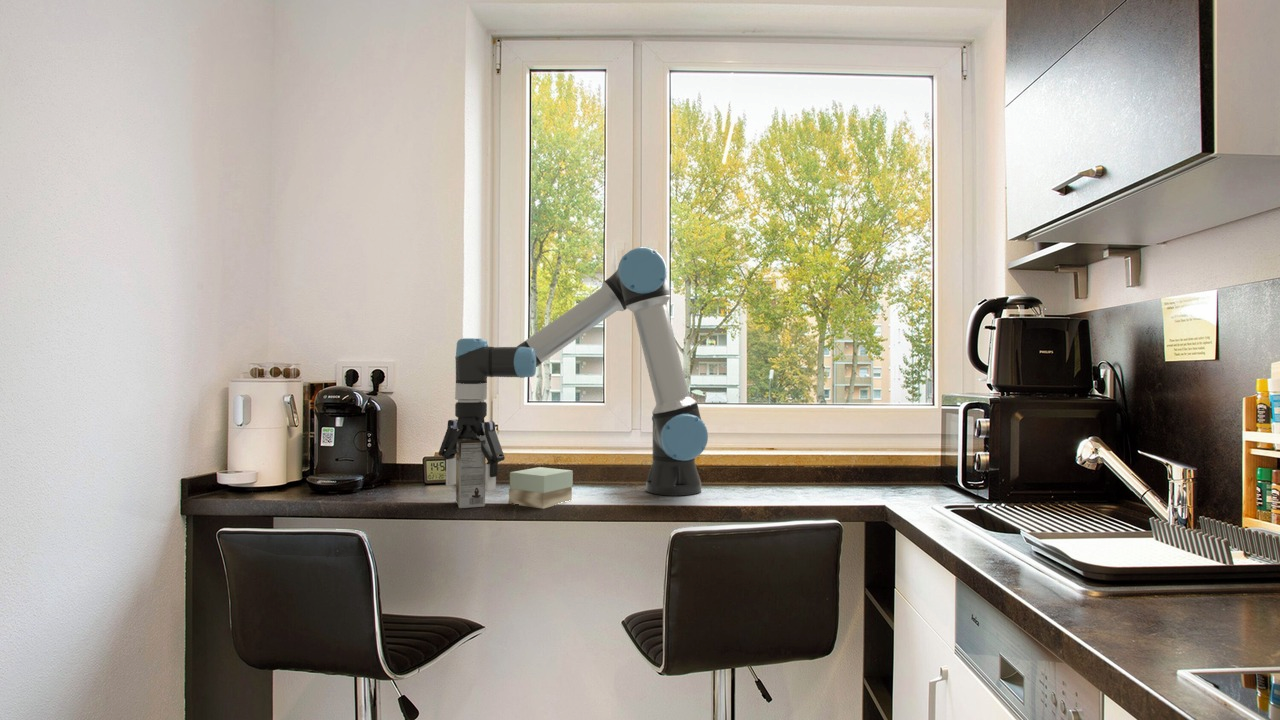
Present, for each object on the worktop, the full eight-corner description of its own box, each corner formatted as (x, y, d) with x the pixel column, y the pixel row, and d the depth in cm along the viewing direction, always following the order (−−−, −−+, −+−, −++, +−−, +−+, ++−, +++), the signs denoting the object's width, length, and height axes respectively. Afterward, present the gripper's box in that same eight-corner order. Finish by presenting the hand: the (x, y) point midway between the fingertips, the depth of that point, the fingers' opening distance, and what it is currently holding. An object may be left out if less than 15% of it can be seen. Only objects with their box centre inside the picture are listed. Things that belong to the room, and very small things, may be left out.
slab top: (572, 486, 160) (572, 470, 160) (544, 493, 150) (544, 476, 150) (539, 482, 165) (539, 467, 165) (509, 488, 156) (509, 472, 156)
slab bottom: (571, 502, 160) (571, 486, 160) (543, 510, 150) (543, 493, 150) (538, 497, 165) (538, 482, 165) (508, 504, 156) (508, 488, 156)
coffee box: (454, 501, 158) (455, 437, 159) (481, 499, 161) (481, 436, 161) (458, 508, 150) (459, 440, 150) (486, 506, 152) (486, 439, 152)
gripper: (519, 401, 152) (519, 490, 152) (447, 399, 165) (447, 480, 165) (497, 403, 146) (496, 495, 146) (424, 400, 159) (423, 485, 159)
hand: (470, 487), depth 155 cm, fingers open, 13 cm apart
